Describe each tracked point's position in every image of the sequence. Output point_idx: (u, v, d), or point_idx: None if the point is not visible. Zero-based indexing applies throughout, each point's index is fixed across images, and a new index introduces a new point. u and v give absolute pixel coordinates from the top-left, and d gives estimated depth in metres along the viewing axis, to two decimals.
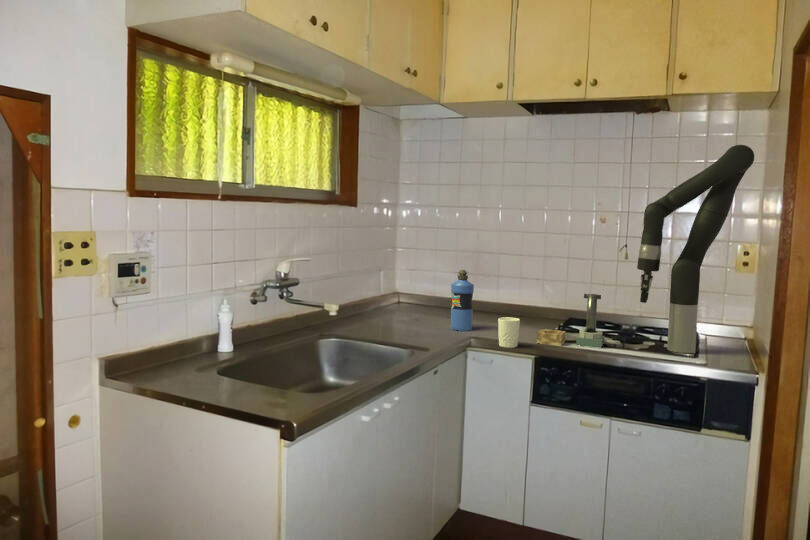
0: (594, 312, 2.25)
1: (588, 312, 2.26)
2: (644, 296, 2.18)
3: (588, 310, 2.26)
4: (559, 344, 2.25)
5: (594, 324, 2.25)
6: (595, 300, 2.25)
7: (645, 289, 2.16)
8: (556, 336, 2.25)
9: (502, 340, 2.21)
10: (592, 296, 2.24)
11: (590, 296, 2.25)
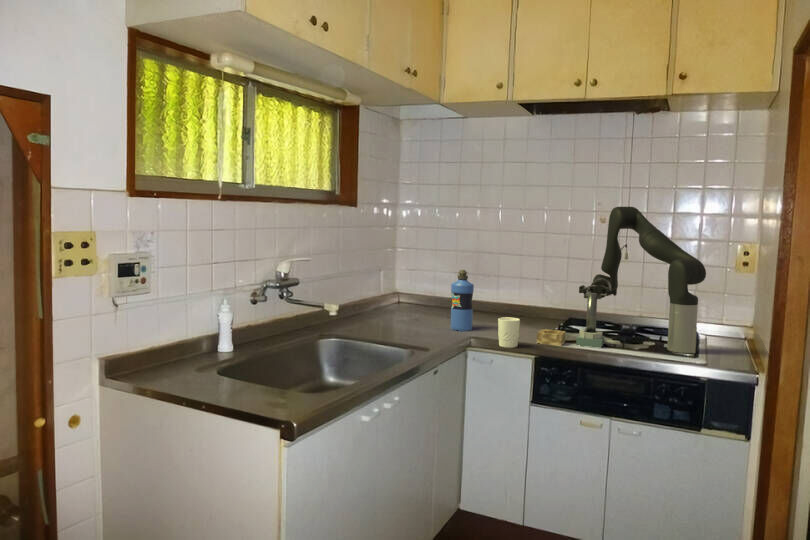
0: (594, 312, 2.25)
1: (588, 312, 2.26)
2: None
3: (588, 310, 2.26)
4: (559, 344, 2.25)
5: (594, 324, 2.25)
6: (595, 300, 2.25)
7: None
8: (556, 336, 2.25)
9: (502, 340, 2.21)
10: (592, 296, 2.24)
11: (590, 296, 2.25)
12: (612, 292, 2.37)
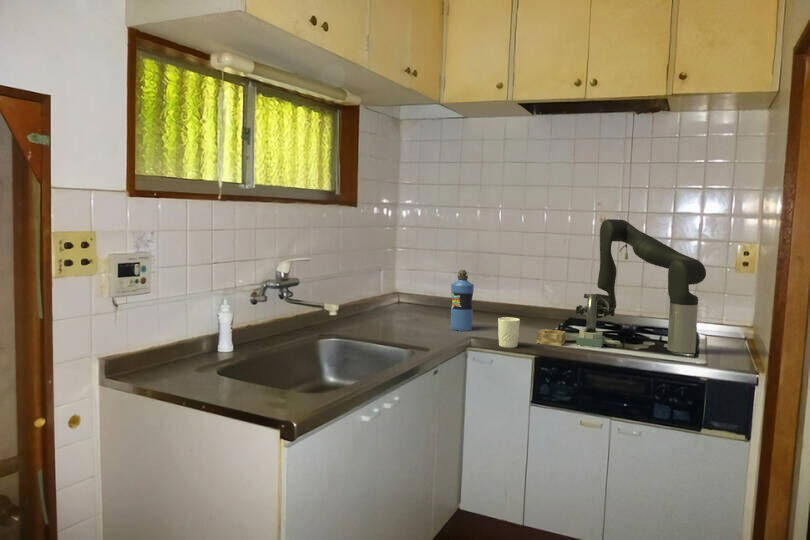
0: (594, 312, 2.25)
1: (588, 312, 2.26)
2: None
3: (588, 310, 2.26)
4: (559, 344, 2.25)
5: (594, 324, 2.25)
6: (595, 300, 2.25)
7: None
8: (556, 336, 2.25)
9: (502, 340, 2.21)
10: (592, 296, 2.24)
11: (590, 296, 2.25)
12: (610, 313, 2.32)
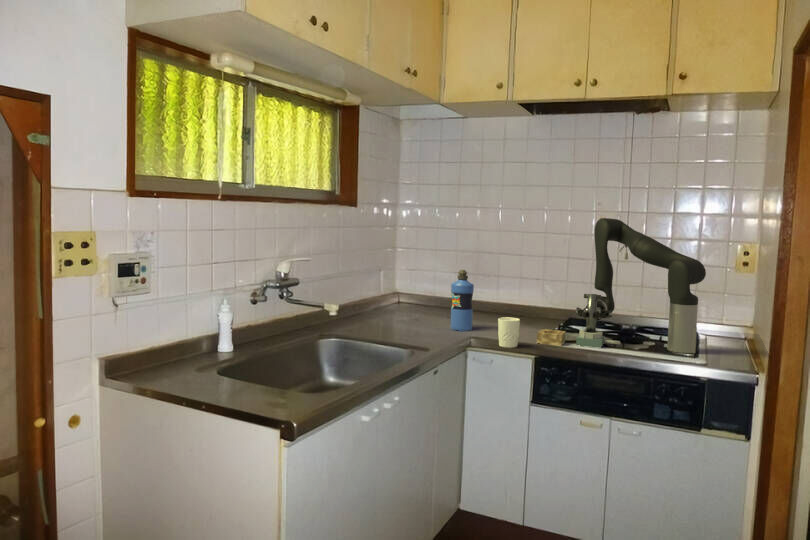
0: (594, 312, 2.25)
1: (588, 312, 2.26)
2: (583, 313, 2.27)
3: (588, 310, 2.26)
4: (559, 344, 2.25)
5: (594, 324, 2.25)
6: (595, 300, 2.25)
7: None
8: (556, 336, 2.25)
9: (502, 340, 2.21)
10: (592, 296, 2.24)
11: (590, 296, 2.25)
12: (601, 315, 2.26)
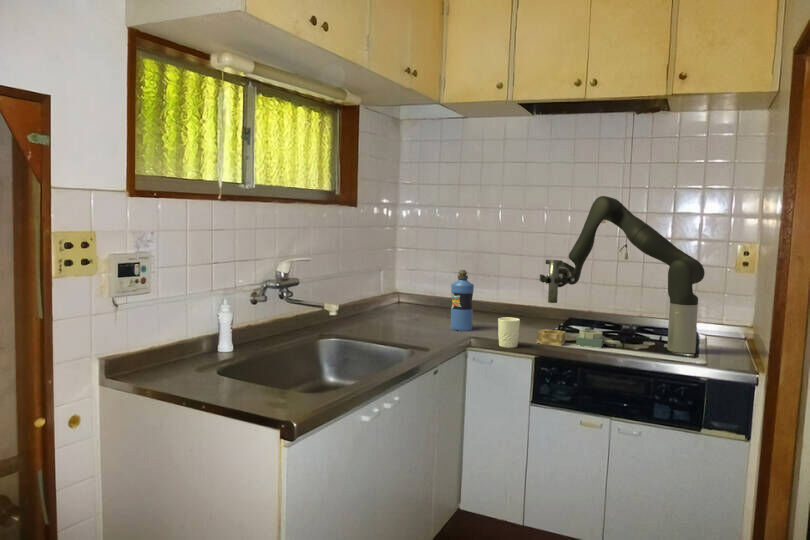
0: (555, 277, 2.27)
1: (550, 278, 2.28)
2: None
3: (550, 276, 2.28)
4: (559, 344, 2.25)
5: (556, 290, 2.28)
6: (556, 266, 2.27)
7: None
8: (556, 336, 2.25)
9: (502, 340, 2.21)
10: (554, 262, 2.26)
11: (551, 262, 2.27)
12: (563, 280, 2.28)
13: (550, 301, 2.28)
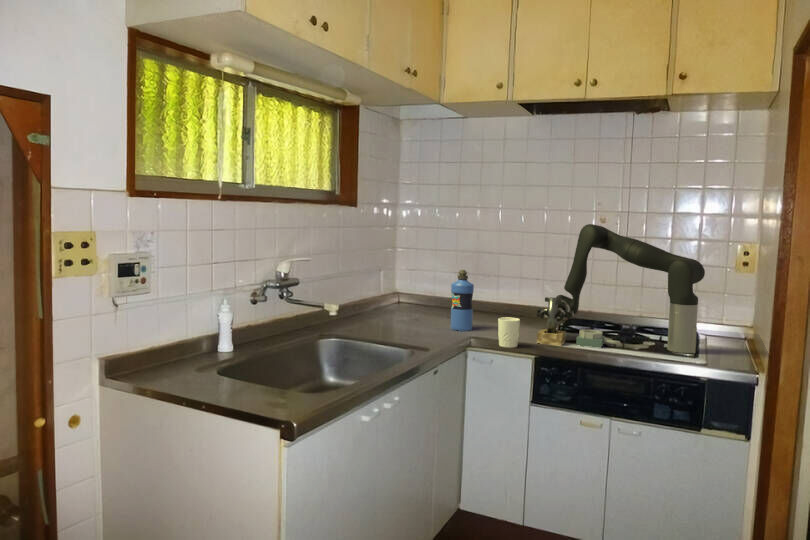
0: (554, 315, 2.28)
1: (549, 315, 2.29)
2: None
3: (549, 313, 2.29)
4: (559, 344, 2.25)
5: (555, 328, 2.29)
6: (555, 303, 2.28)
7: None
8: (556, 336, 2.25)
9: (502, 340, 2.21)
10: (553, 300, 2.28)
11: (551, 299, 2.28)
12: (566, 315, 2.29)
13: None
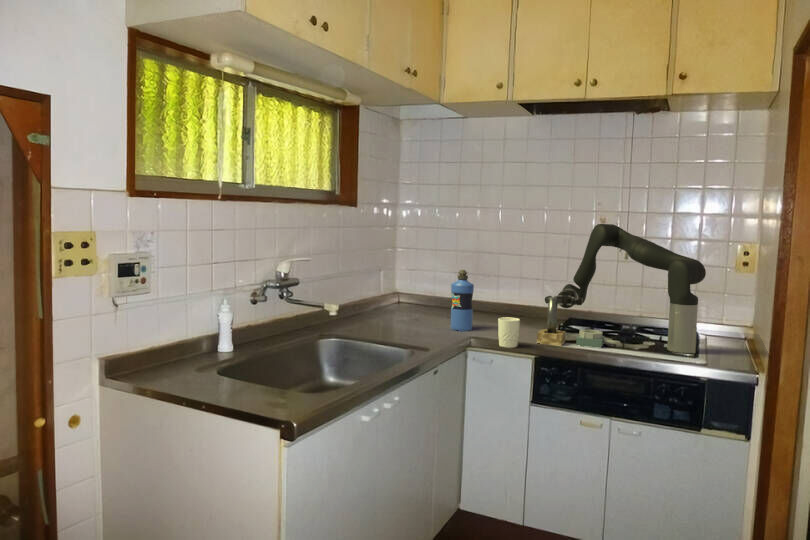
0: (554, 315, 2.28)
1: (549, 315, 2.29)
2: None
3: (549, 313, 2.29)
4: (559, 344, 2.25)
5: (555, 328, 2.29)
6: (555, 303, 2.28)
7: None
8: (556, 336, 2.25)
9: (502, 340, 2.21)
10: (553, 300, 2.28)
11: (550, 299, 2.28)
12: (577, 302, 2.40)
13: None
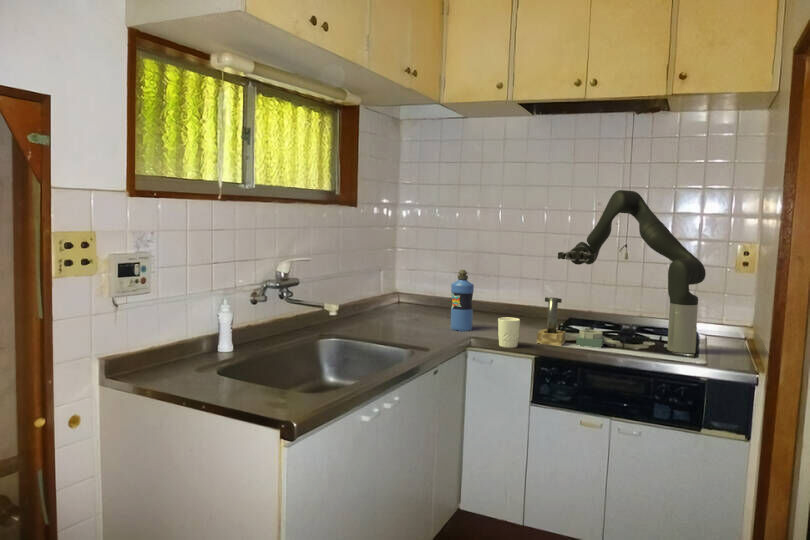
0: (554, 315, 2.28)
1: (549, 315, 2.29)
2: None
3: (549, 313, 2.29)
4: (559, 344, 2.25)
5: (555, 328, 2.29)
6: (555, 304, 2.28)
7: None
8: (556, 336, 2.25)
9: (502, 340, 2.21)
10: (553, 300, 2.27)
11: (551, 300, 2.28)
12: (590, 257, 2.40)
13: None
